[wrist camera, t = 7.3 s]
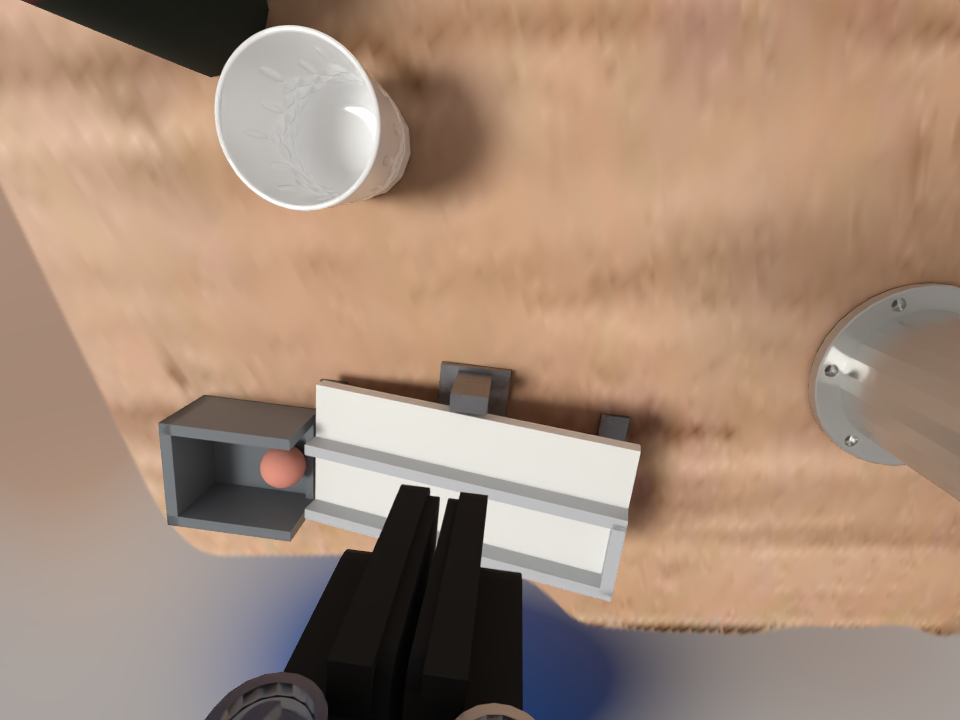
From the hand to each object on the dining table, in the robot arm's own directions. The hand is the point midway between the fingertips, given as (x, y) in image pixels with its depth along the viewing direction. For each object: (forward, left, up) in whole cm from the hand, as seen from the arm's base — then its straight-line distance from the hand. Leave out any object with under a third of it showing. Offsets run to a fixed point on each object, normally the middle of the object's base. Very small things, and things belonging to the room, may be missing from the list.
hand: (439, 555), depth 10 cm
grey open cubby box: (+17, +14, -27) cm, 35 cm away
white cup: (+10, -9, -27) cm, 30 cm away
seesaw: (+1, +12, -23) cm, 26 cm away
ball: (+14, +14, -25) cm, 32 cm away
